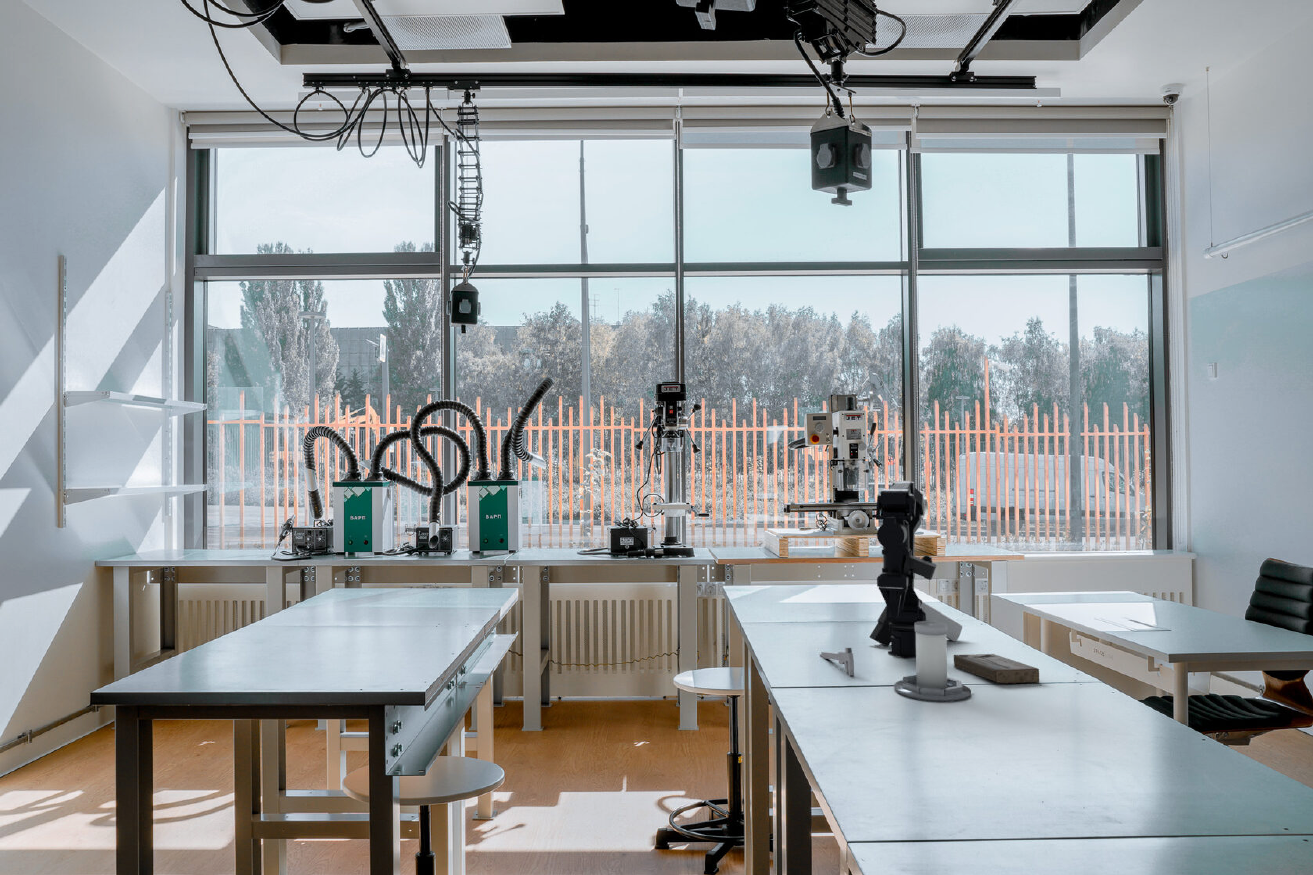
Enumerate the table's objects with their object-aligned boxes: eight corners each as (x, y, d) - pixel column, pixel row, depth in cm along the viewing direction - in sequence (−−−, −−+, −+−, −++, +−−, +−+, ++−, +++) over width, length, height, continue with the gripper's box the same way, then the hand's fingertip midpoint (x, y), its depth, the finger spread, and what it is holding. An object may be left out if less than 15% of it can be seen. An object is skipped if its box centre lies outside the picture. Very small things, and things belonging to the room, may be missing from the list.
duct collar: (931, 679, 180) (931, 669, 180) (987, 695, 167) (987, 685, 167) (878, 688, 173) (878, 678, 173) (932, 706, 160) (932, 695, 160)
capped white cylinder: (922, 682, 175) (921, 620, 175) (953, 687, 171) (951, 623, 171) (910, 688, 170) (909, 624, 170) (941, 693, 166) (940, 628, 166)
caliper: (854, 677, 183) (854, 649, 183) (849, 678, 183) (849, 649, 183) (823, 656, 203) (823, 630, 204) (819, 656, 203) (819, 631, 203)
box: (995, 684, 174) (995, 669, 174) (952, 667, 191) (952, 653, 191) (1041, 683, 176) (1041, 668, 176) (994, 666, 193) (994, 652, 193)
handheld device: (867, 636, 215) (892, 585, 218) (934, 673, 220) (957, 622, 222) (875, 639, 212) (900, 587, 214) (942, 677, 216) (966, 625, 218)
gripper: (930, 550, 175) (931, 624, 174) (936, 542, 192) (938, 610, 192) (876, 548, 179) (877, 621, 179) (887, 541, 196) (888, 607, 196)
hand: (897, 614), depth 186 cm, fingers open, 9 cm apart
